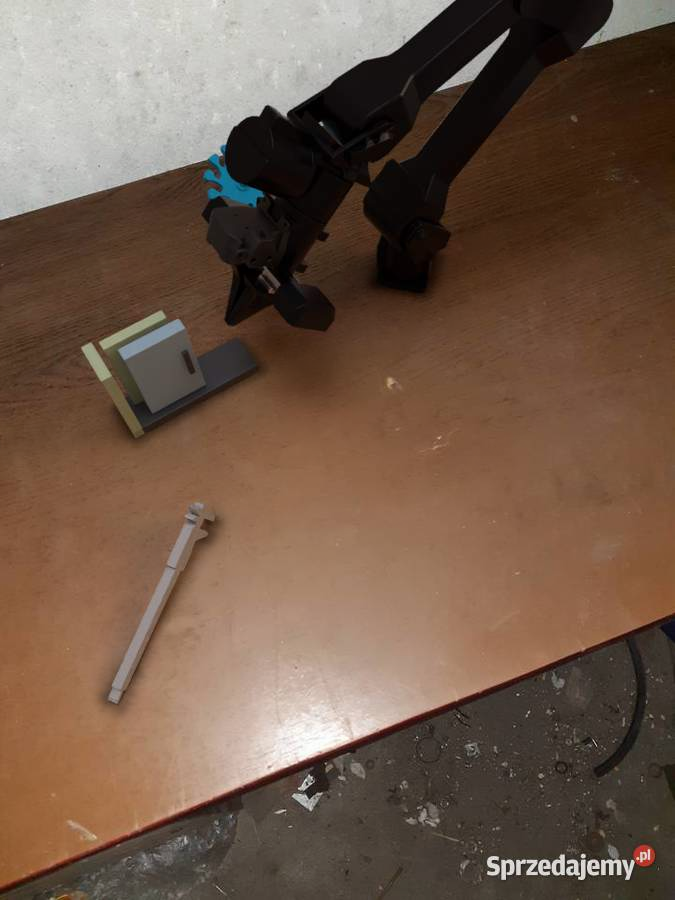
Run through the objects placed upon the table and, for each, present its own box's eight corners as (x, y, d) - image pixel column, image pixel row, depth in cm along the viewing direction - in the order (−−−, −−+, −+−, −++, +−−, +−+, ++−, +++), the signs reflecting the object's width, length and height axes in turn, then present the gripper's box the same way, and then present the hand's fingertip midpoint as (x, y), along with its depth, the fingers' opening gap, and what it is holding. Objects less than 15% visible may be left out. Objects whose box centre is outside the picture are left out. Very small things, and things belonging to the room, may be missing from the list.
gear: (227, 231, 91) (193, 155, 87) (212, 238, 96) (180, 166, 92) (295, 202, 95) (266, 128, 92) (277, 210, 100) (249, 140, 97)
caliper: (207, 515, 74) (195, 492, 69) (216, 518, 74) (204, 495, 69) (109, 700, 66) (86, 691, 60) (119, 705, 66) (96, 696, 60)
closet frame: (238, 342, 85) (220, 274, 74) (259, 370, 83) (244, 304, 72) (117, 407, 81) (79, 346, 70) (135, 438, 79) (100, 380, 68)
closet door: (199, 375, 81) (178, 317, 71) (207, 386, 80) (187, 330, 71) (146, 404, 79) (117, 349, 70) (153, 416, 79) (125, 362, 69)
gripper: (199, 128, 67) (130, 258, 74) (302, 247, 59) (214, 379, 67) (277, 161, 76) (209, 275, 83) (375, 269, 68) (291, 383, 76)
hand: (228, 323), depth 77 cm, fingers closed
